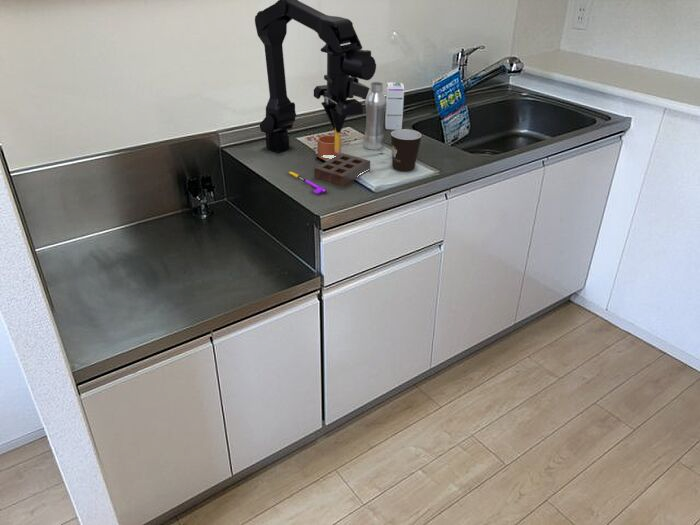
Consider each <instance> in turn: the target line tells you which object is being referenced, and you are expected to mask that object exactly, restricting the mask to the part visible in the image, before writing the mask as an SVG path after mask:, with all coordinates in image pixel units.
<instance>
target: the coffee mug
mask: <svg viewBox="0 0 700 525" xmlns="http://www.w3.org/2000/svg"><path fill="white" fill-rule="evenodd" d="M421 139H422V133H421V132H420V131H418V130H414V129H409V128H402V129H399V130H391V132H390V142H391V163H392V169H393V170H395V171H397V172H402V173H405V172H406V173H408V172H412V171H414V170H415V167H416V162H417V158H418V154H419V148H420V144H421Z"/></svg>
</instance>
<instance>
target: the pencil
mask: <svg viewBox="0 0 700 525" xmlns="http://www.w3.org/2000/svg"><path fill="white" fill-rule="evenodd" d="M334 136H335V153H339V152H340V138H341V132H338V133H337V132H336V129H335V130H334Z"/></svg>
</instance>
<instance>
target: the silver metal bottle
mask: <svg viewBox="0 0 700 525" xmlns="http://www.w3.org/2000/svg"><path fill="white" fill-rule="evenodd" d="M369 88H370V89H369V91H370V92H368V94H367V97H366V100H364V102H365V119H366V120H365V130H364V135H363V141H362V142H363V146H364V148H366V150H371V151H377V150H381V149H382V148H383V146H384V143H385V135H384V122H385V113H386V95H385V94H384V93H383V91H384V84H383V83H382V82H380V81H373V82H370V87H369Z"/></svg>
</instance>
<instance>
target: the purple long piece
mask: <svg viewBox="0 0 700 525" xmlns="http://www.w3.org/2000/svg"><path fill="white" fill-rule="evenodd" d="M288 174H290V175H291V176H293V177H294V178H296V179H297V178H299V179H300V180H302V181H303V182H304V183H305V184H307V185H308V186H311V187H312V188H314V190H313V191H312V193H313V194H315V195H320V194H324V193H326V192H327V190H326V188H324V187H323V186H321V185H318V184H316V183H314V182H312V181H311V180H309V179H306V178H303V177H301V175H300V174H298V173H296V172H295V171H288Z"/></svg>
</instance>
